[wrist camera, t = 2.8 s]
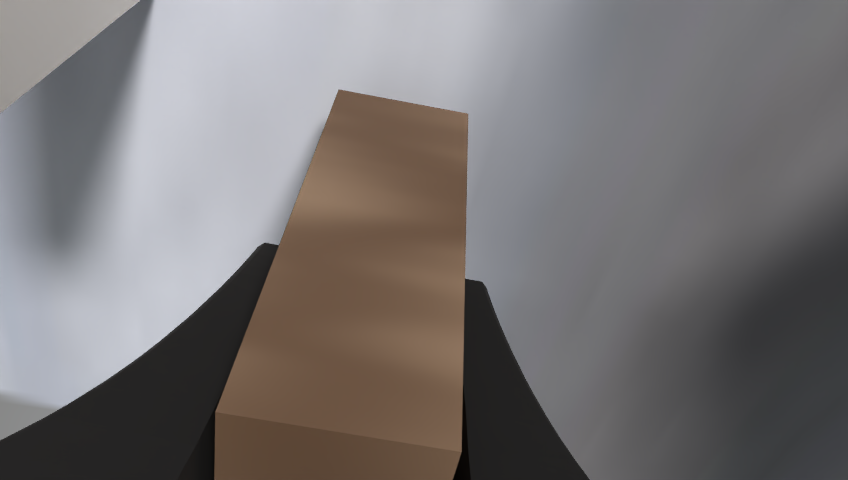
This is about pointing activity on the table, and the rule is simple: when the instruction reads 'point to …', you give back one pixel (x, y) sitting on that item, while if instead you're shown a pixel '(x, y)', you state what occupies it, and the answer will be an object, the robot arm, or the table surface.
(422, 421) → the tall wooden plank
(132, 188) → the table surface
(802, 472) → the table surface
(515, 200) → the table surface
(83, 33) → the tile
